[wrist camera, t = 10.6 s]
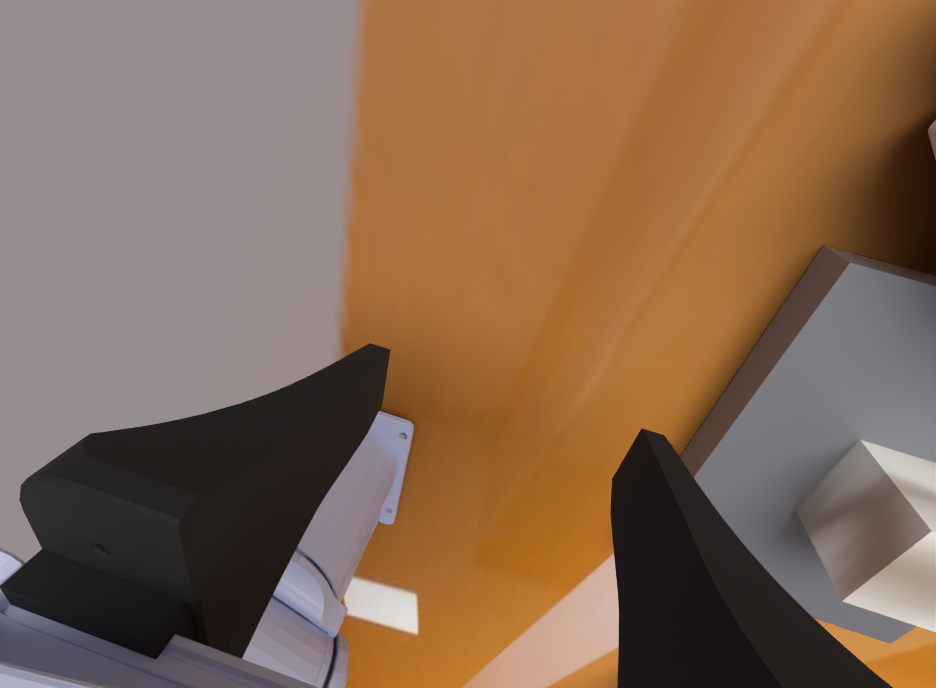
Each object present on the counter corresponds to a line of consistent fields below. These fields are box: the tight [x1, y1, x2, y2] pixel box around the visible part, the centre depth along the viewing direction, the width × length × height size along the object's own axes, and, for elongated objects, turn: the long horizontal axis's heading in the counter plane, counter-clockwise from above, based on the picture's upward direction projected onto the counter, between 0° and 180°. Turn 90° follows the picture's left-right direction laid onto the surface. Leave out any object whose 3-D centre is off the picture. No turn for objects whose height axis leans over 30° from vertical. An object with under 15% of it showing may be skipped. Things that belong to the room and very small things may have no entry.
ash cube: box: [795, 440, 936, 632], centre depth 18 cm, size 4×4×4 cm
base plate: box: [680, 245, 936, 643], centre depth 21 cm, size 18×14×2 cm
